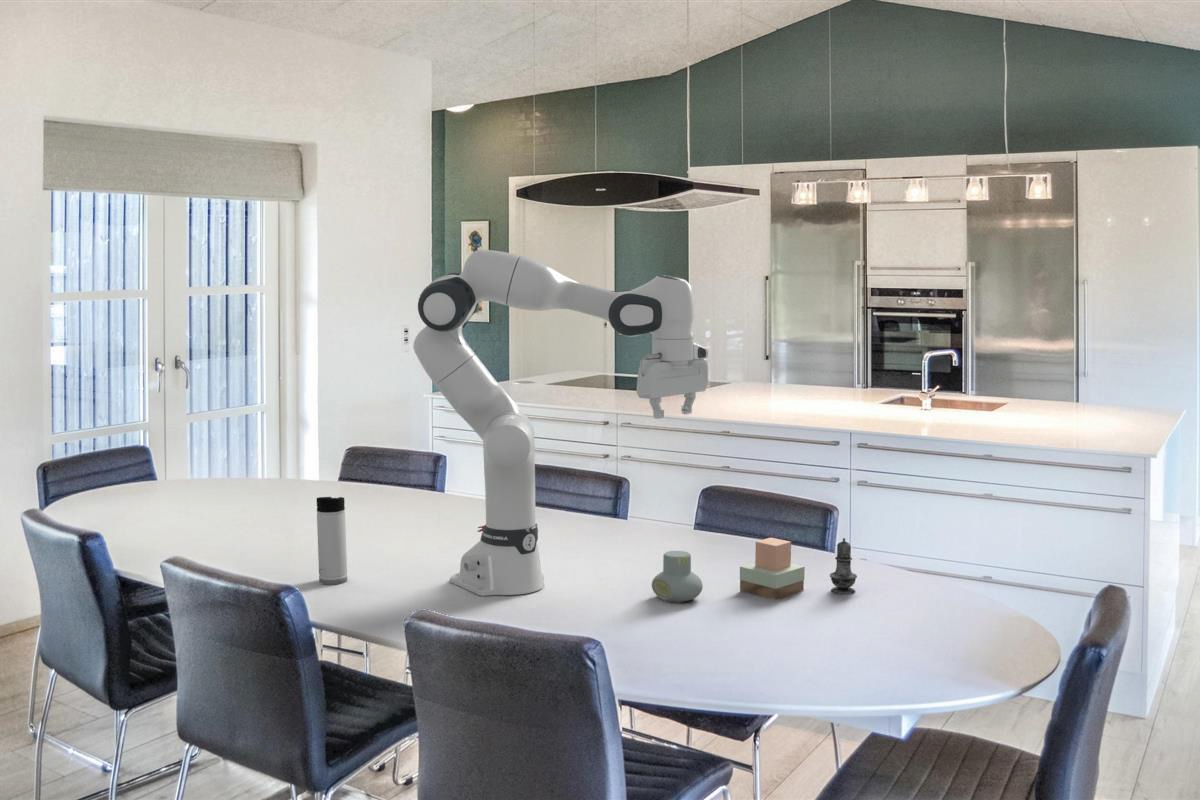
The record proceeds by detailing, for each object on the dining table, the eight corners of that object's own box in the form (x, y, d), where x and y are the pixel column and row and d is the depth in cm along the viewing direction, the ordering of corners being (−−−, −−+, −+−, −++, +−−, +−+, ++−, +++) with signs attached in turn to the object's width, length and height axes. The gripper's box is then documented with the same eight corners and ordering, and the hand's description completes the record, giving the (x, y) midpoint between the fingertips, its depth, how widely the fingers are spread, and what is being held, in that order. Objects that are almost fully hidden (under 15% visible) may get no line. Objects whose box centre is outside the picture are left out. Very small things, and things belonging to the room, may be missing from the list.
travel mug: (314, 584, 261) (311, 498, 259) (325, 577, 268) (322, 492, 265) (340, 586, 260) (337, 498, 258) (351, 578, 267) (348, 492, 264)
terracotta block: (755, 566, 254) (755, 541, 253) (770, 561, 258) (770, 537, 257) (775, 570, 250) (776, 546, 249) (790, 566, 254) (791, 541, 253)
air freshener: (708, 601, 246) (708, 556, 245) (677, 608, 242) (677, 562, 241) (676, 590, 255) (676, 545, 254) (646, 596, 251) (646, 551, 250)
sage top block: (739, 579, 254) (739, 566, 254) (768, 571, 261) (768, 558, 261) (776, 588, 247) (776, 575, 247) (804, 579, 254) (804, 566, 253)
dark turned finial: (859, 595, 251) (860, 540, 249) (832, 595, 251) (833, 541, 249) (853, 587, 256) (854, 534, 255) (827, 587, 257) (828, 534, 255)
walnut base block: (740, 593, 254) (740, 580, 254) (765, 584, 261) (765, 571, 261) (778, 602, 247) (778, 588, 247) (803, 592, 255) (803, 578, 254)
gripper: (652, 355, 237) (652, 422, 239) (713, 349, 252) (713, 412, 253) (629, 354, 241) (629, 419, 243) (690, 348, 256) (690, 410, 258)
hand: (672, 416), depth 248 cm, fingers open, 8 cm apart
